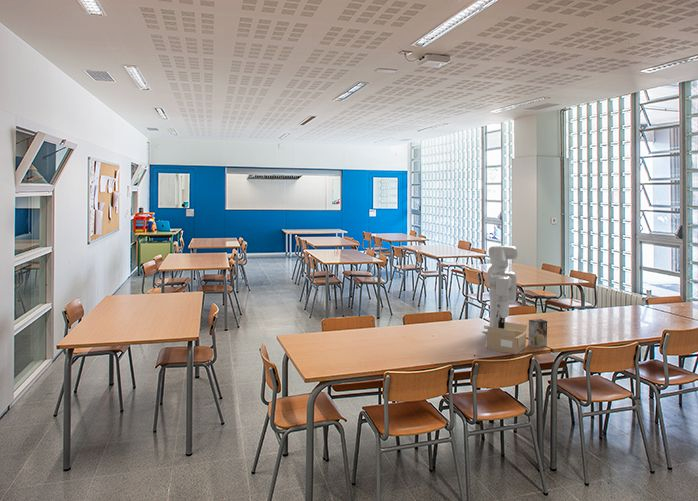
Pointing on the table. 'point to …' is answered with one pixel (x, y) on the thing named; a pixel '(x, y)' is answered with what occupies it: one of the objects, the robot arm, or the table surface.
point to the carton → (507, 342)
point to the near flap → (501, 331)
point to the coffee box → (537, 333)
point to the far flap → (515, 326)
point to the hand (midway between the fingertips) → (501, 328)
